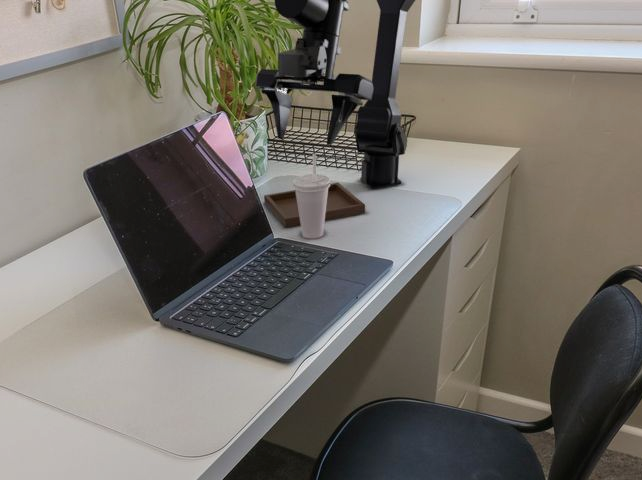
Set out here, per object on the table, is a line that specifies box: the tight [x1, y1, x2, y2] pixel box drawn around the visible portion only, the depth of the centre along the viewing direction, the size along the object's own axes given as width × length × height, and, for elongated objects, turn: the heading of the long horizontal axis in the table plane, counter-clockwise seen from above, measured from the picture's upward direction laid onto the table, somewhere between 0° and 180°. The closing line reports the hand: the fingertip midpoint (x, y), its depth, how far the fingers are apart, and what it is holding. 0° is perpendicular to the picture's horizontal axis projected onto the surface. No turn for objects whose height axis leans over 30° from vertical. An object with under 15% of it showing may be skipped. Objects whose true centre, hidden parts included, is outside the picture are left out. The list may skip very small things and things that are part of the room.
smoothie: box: [292, 153, 331, 239], centre depth 118 cm, size 6×6×14 cm
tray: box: [263, 182, 366, 229], centre depth 132 cm, size 16×14×2 cm
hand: (304, 141), depth 112 cm, fingers open, 9 cm apart
